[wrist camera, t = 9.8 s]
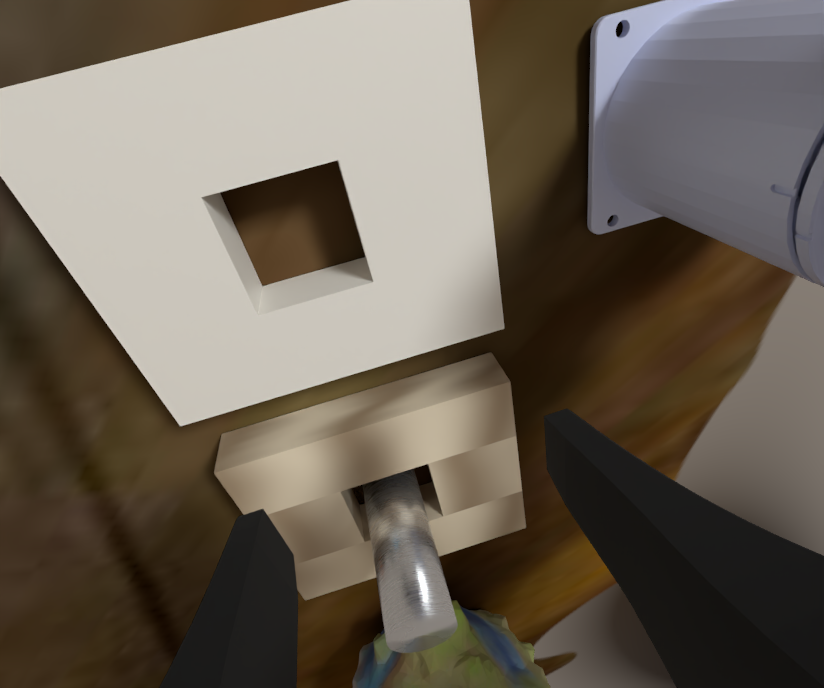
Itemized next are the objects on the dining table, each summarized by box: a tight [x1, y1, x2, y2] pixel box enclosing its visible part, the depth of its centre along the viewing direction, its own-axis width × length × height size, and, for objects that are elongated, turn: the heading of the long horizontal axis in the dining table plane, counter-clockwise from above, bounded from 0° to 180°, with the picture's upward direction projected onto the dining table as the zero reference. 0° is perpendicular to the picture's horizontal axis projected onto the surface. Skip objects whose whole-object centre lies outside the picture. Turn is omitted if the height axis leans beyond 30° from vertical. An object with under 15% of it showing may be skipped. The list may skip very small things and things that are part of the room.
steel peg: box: [362, 468, 458, 653], centre depth 22 cm, size 3×3×9 cm
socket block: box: [0, 0, 505, 426], centre depth 16 cm, size 14×12×2 cm
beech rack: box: [214, 352, 526, 601], centre depth 25 cm, size 14×12×2 cm
